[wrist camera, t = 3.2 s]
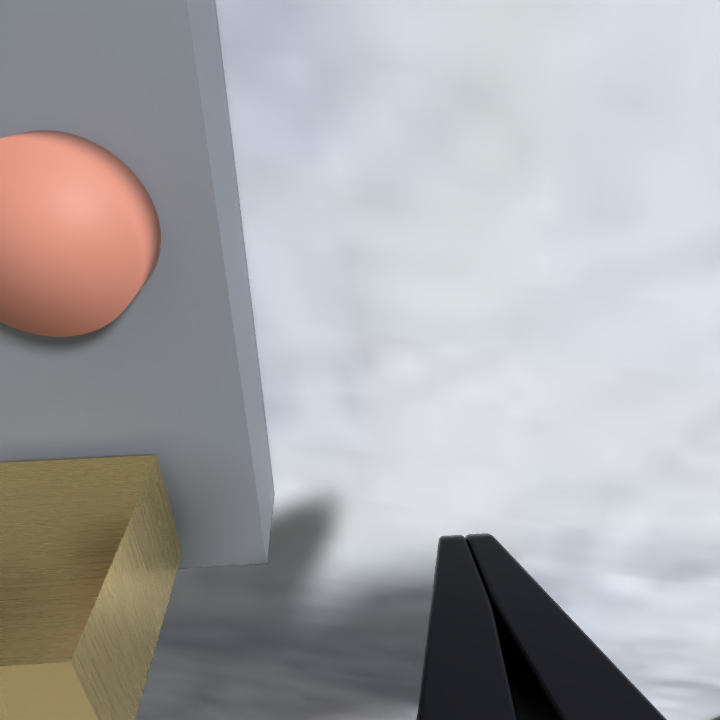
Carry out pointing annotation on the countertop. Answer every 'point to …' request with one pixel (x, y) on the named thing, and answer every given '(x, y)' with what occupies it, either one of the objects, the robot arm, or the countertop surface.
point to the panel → (130, 261)
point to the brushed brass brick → (82, 585)
